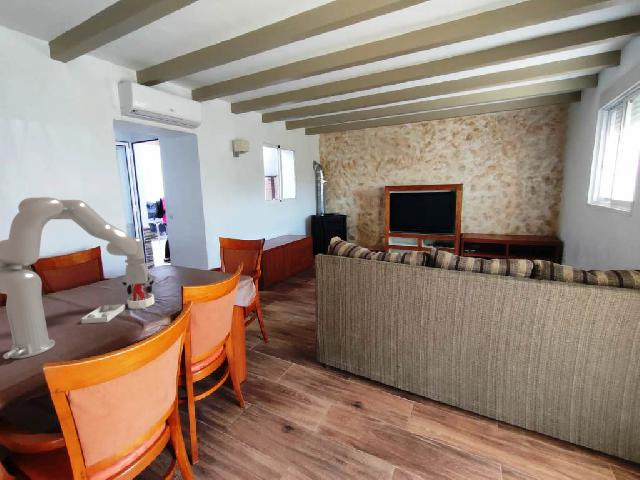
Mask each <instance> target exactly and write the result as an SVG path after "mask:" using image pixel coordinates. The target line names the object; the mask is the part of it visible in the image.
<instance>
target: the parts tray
mask: <svg viewBox="0 0 640 480" xmlns="http://www.w3.org/2000/svg"><path fill="white" fill-rule="evenodd" d="M105 305H106V304H105ZM105 305H100V306H99V307H98V308H96V309H94V310H93V311H91V312H89V313H88V314H86V315H84V316H83V317H81V318H80V323H81V325H82V324H85V325H86V324H95V323H96V324H98V323H99V324H100V323H109V322H110V321H111V320H112V319H114V318H115V317H116V316H118V315H119V314H120V313H122V312H123V311H124V310H126V304H125V303H124V304H107V305H108V306H109V307H110V309H109V310H108V311H103V306H105ZM105 312H107V313H109V314H110V315H108V316H107V317H101V316H102V314H103V313H105ZM90 314H94V315H95V318H87V316H88V315H90Z"/></svg>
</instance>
